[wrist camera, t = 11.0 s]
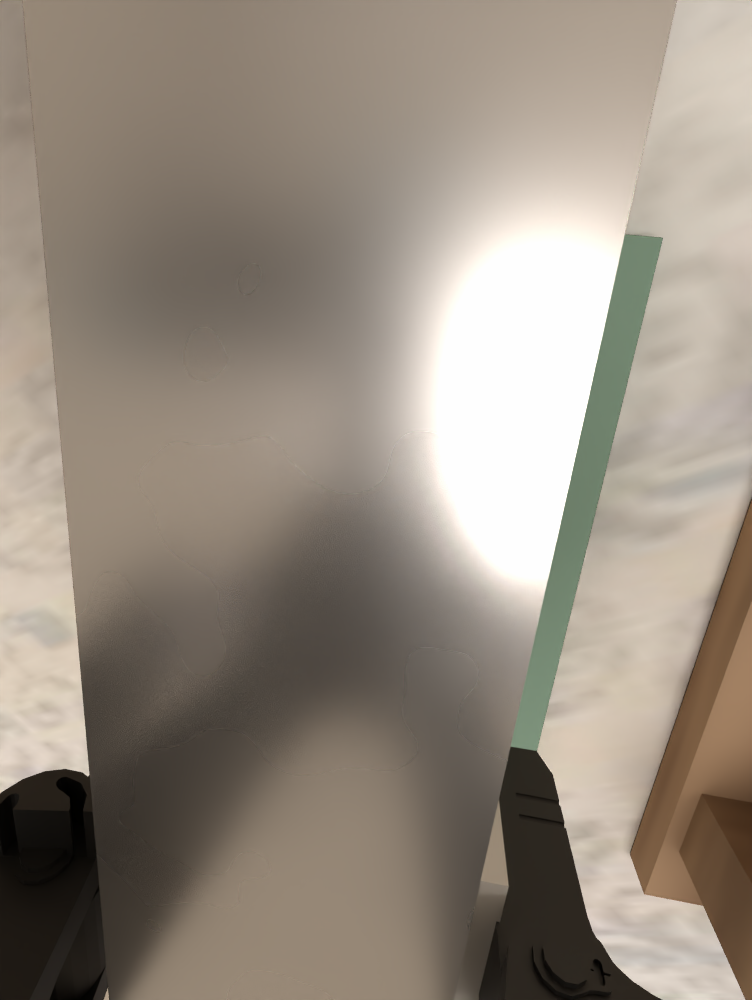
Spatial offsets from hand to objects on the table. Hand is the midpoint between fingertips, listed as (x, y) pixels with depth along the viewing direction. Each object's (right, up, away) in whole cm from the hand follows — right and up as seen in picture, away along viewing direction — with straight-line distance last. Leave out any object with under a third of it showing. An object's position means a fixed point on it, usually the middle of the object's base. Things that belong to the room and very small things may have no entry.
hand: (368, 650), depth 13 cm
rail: (0, -1, -2) cm, 3 cm away
